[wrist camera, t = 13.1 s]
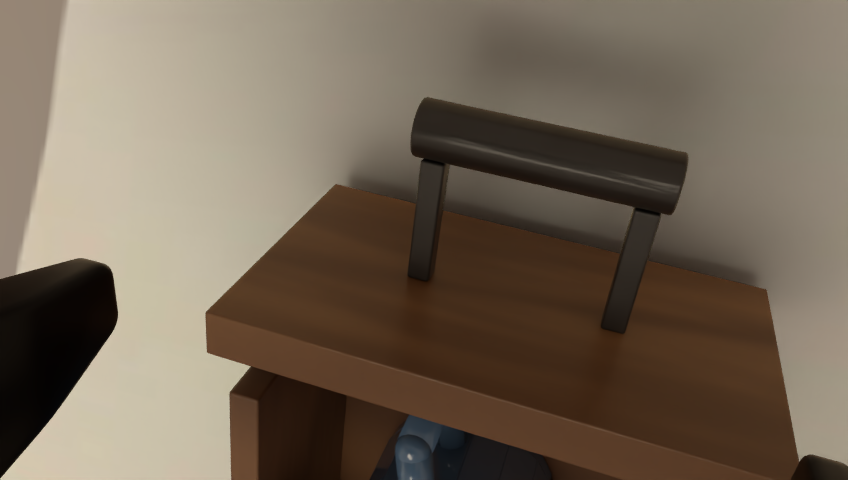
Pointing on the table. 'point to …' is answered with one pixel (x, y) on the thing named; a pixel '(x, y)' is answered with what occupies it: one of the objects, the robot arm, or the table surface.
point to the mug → (453, 456)
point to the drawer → (501, 326)
